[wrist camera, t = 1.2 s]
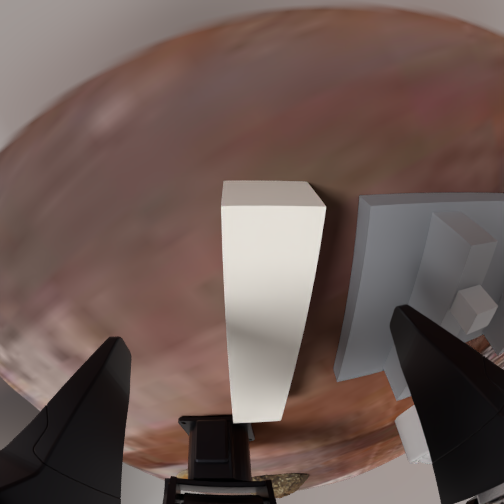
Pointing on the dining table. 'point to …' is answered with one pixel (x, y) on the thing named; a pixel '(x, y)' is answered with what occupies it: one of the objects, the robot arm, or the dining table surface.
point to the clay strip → (267, 288)
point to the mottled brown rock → (283, 483)
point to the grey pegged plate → (422, 275)
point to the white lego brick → (413, 436)
